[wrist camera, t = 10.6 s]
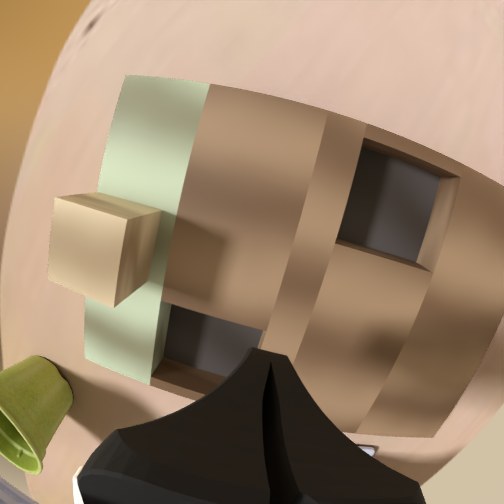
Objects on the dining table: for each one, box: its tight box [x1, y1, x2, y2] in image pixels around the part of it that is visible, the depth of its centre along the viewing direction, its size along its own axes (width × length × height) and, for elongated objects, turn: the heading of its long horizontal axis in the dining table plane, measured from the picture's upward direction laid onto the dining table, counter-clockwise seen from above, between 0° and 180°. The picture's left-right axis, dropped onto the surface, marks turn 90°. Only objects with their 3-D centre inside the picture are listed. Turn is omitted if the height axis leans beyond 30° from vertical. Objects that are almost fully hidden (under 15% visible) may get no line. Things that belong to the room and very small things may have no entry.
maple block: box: [47, 192, 163, 308], centre depth 14 cm, size 4×4×4 cm
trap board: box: [84, 75, 504, 438], centre depth 17 cm, size 18×26×3 cm
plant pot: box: [0, 356, 73, 474], centre depth 19 cm, size 9×9×9 cm
